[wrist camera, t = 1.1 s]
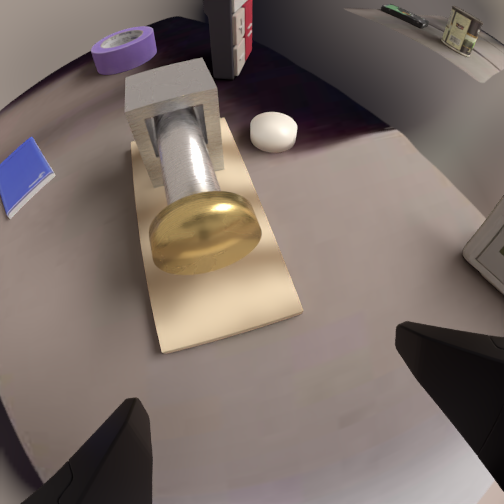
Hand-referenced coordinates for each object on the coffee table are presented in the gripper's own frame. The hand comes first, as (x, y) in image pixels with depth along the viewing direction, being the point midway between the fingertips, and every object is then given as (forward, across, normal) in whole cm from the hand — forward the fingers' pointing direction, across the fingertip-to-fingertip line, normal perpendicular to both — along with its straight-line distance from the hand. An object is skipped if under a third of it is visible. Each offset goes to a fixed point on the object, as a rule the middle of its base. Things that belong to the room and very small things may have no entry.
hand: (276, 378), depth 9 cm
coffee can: (+50, -80, -38) cm, 101 cm away
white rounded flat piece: (+25, -8, -9) cm, 28 cm away
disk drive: (+62, -73, -52) cm, 110 cm away
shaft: (+18, +2, -7) cm, 19 cm away
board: (+20, +2, -3) cm, 20 cm away
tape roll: (+46, +10, -33) cm, 57 cm away
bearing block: (+23, +2, -9) cm, 25 cm away
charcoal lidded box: (+38, -8, -24) cm, 45 cm away
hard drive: (+30, +25, -14) cm, 41 cm away
